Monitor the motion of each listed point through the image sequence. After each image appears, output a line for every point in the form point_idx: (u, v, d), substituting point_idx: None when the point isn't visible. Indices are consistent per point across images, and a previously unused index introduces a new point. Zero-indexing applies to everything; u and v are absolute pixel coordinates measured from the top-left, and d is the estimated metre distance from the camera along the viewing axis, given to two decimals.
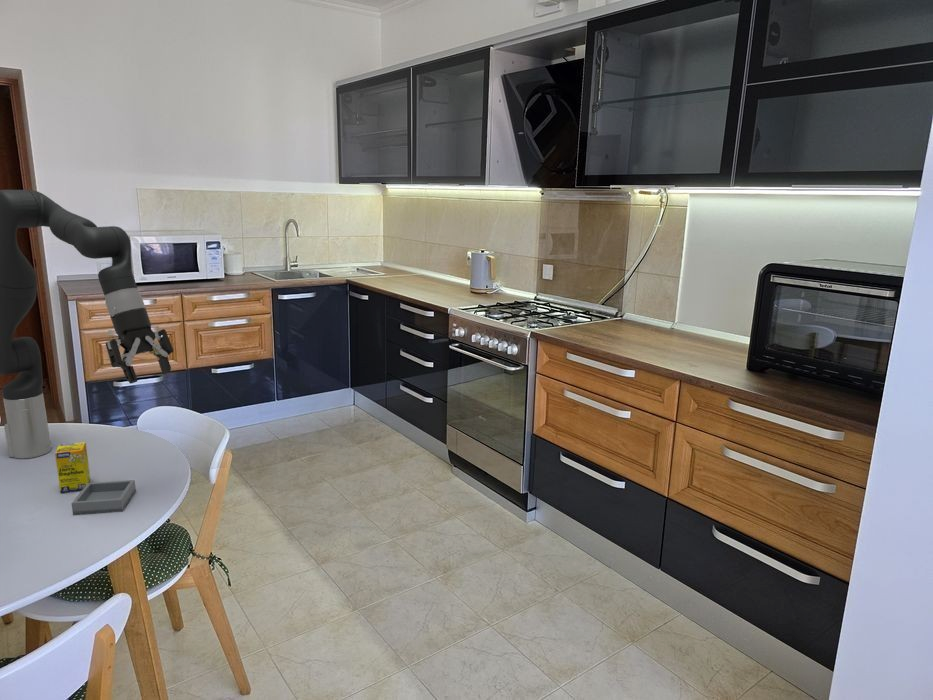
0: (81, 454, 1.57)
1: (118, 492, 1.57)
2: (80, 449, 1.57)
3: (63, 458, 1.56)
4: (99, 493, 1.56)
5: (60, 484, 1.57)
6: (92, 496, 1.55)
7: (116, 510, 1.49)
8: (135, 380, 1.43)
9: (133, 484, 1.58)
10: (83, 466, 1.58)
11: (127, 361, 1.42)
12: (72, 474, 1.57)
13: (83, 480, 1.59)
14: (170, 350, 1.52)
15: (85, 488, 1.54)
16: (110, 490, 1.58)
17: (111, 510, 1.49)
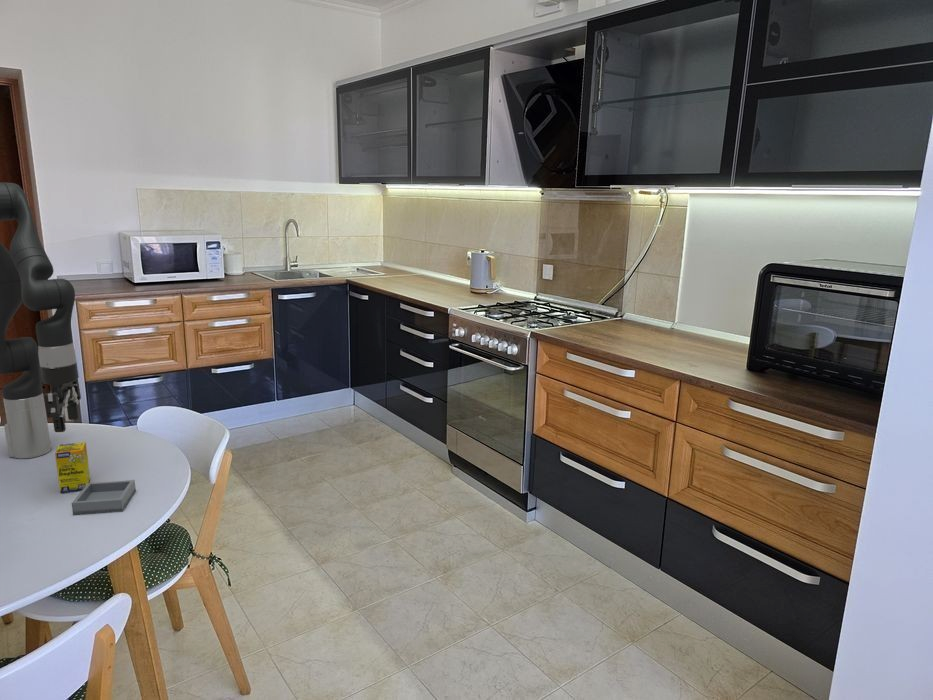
0: (81, 454, 1.57)
1: (118, 492, 1.57)
2: (80, 449, 1.57)
3: (63, 458, 1.56)
4: (99, 493, 1.56)
5: (60, 484, 1.57)
6: (92, 496, 1.55)
7: (116, 510, 1.49)
8: (64, 430, 1.53)
9: (133, 484, 1.58)
10: (83, 466, 1.58)
11: (62, 413, 1.52)
12: (72, 474, 1.57)
13: (83, 480, 1.59)
14: (79, 397, 1.62)
15: (85, 488, 1.54)
16: (110, 490, 1.58)
17: (111, 510, 1.49)
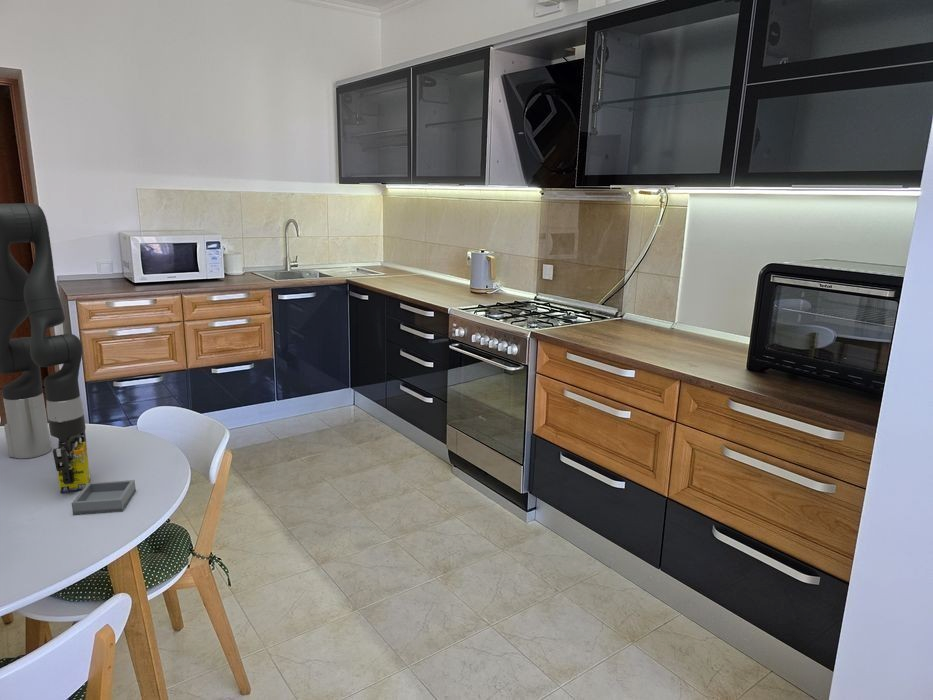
0: (81, 454, 1.57)
1: (118, 492, 1.57)
2: (80, 449, 1.57)
3: None
4: (99, 493, 1.56)
5: (60, 484, 1.57)
6: (92, 496, 1.55)
7: (116, 510, 1.49)
8: (73, 481, 1.57)
9: (133, 484, 1.58)
10: (83, 466, 1.58)
11: (71, 465, 1.56)
12: None
13: (83, 480, 1.59)
14: None
15: (85, 488, 1.54)
16: (110, 490, 1.58)
17: (111, 510, 1.49)
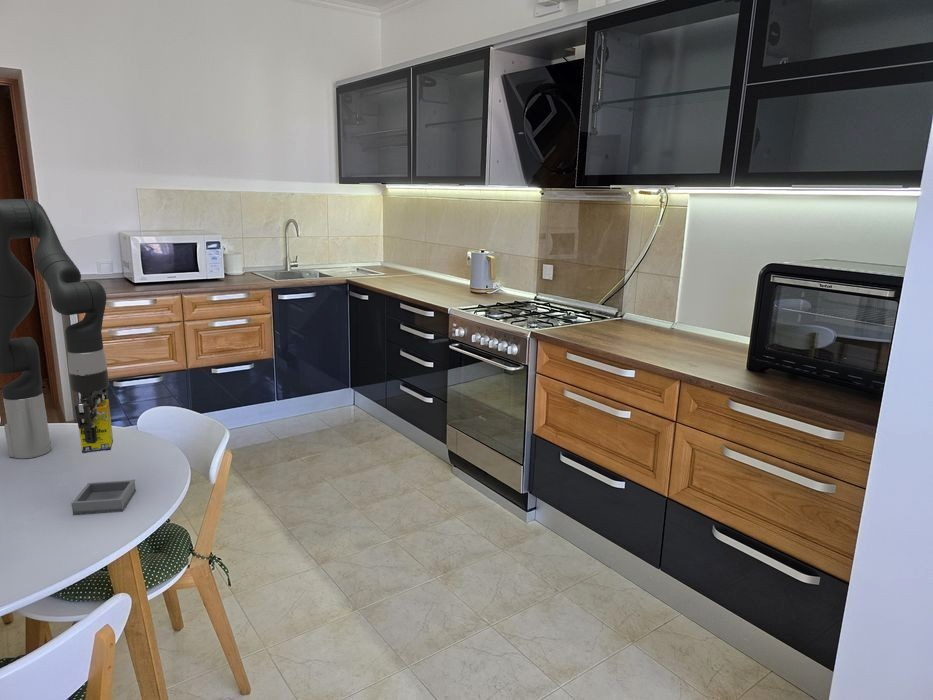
0: (104, 411, 1.46)
1: (118, 492, 1.57)
2: (103, 406, 1.46)
3: None
4: (99, 493, 1.56)
5: (82, 443, 1.46)
6: (92, 496, 1.55)
7: (116, 510, 1.49)
8: None
9: (133, 484, 1.58)
10: (106, 424, 1.47)
11: (94, 423, 1.45)
12: None
13: (106, 440, 1.48)
14: None
15: (85, 488, 1.54)
16: (110, 490, 1.58)
17: (111, 510, 1.49)
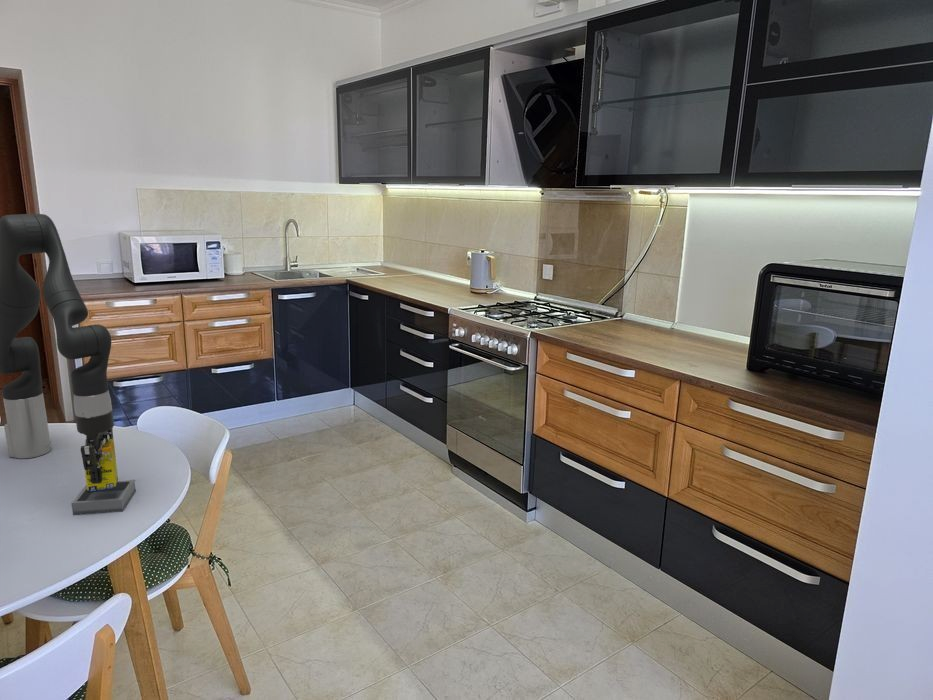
0: (109, 452, 1.49)
1: (118, 492, 1.57)
2: (108, 446, 1.49)
3: None
4: (99, 493, 1.56)
5: (87, 483, 1.48)
6: (92, 496, 1.55)
7: (116, 510, 1.49)
8: (101, 481, 1.49)
9: (133, 484, 1.58)
10: (111, 464, 1.50)
11: (99, 464, 1.47)
12: None
13: (111, 479, 1.50)
14: None
15: (85, 488, 1.54)
16: (110, 490, 1.58)
17: (111, 510, 1.49)
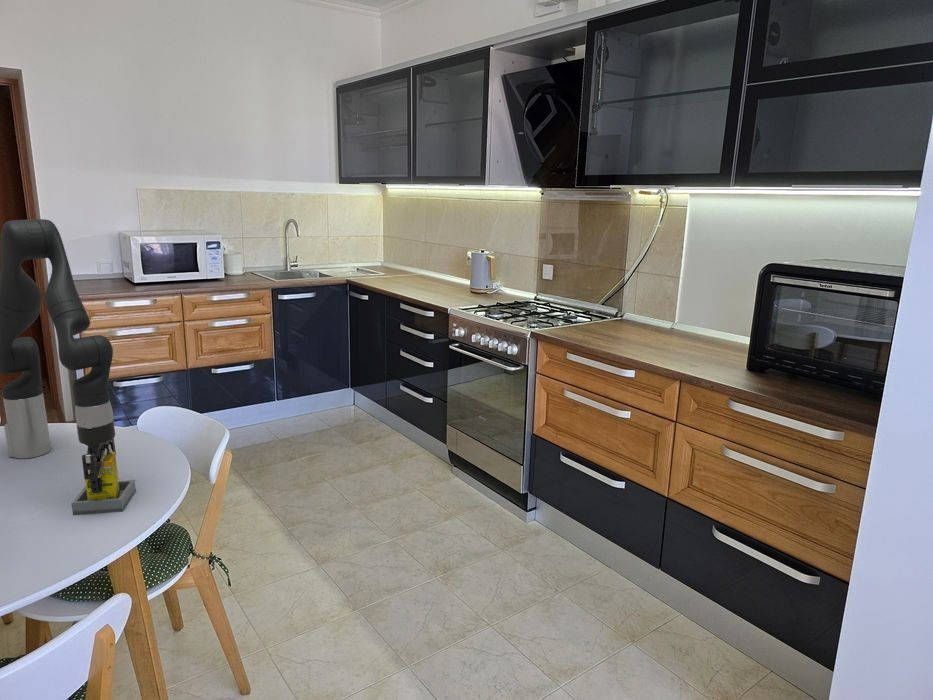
0: (110, 465, 1.49)
1: None
2: (109, 460, 1.49)
3: None
4: None
5: (88, 497, 1.49)
6: None
7: (116, 510, 1.49)
8: (101, 490, 1.49)
9: (133, 484, 1.58)
10: (112, 478, 1.50)
11: (99, 473, 1.47)
12: None
13: (112, 493, 1.51)
14: None
15: (85, 488, 1.54)
16: None
17: (111, 510, 1.49)
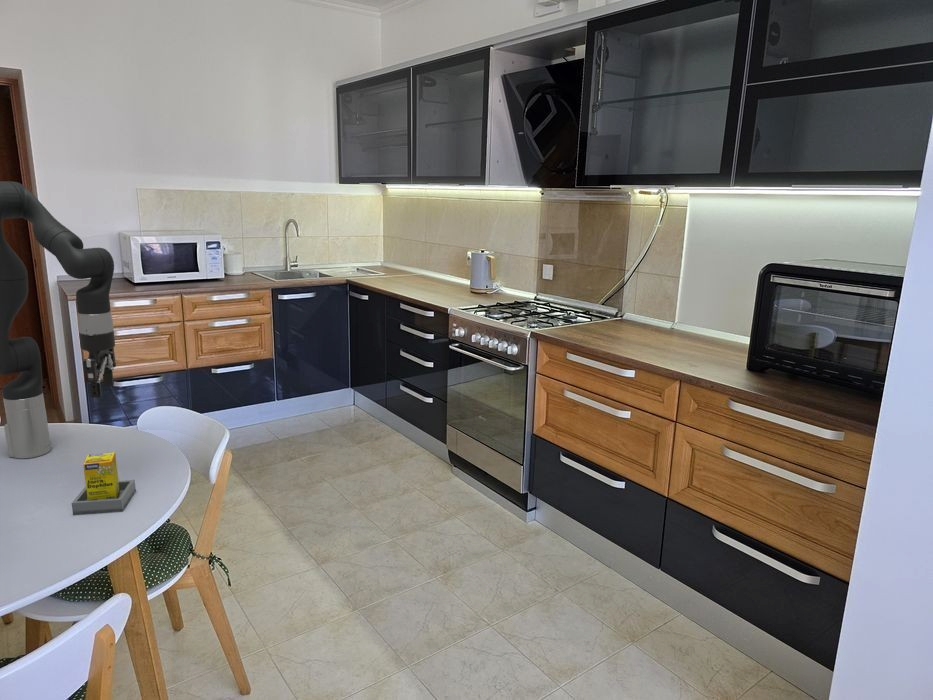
0: (110, 466, 1.49)
1: None
2: (109, 460, 1.49)
3: (91, 469, 1.48)
4: None
5: (88, 497, 1.49)
6: None
7: (116, 510, 1.49)
8: (100, 395, 1.57)
9: (133, 484, 1.58)
10: (112, 478, 1.50)
11: (99, 379, 1.56)
12: (101, 487, 1.50)
13: (112, 493, 1.51)
14: (114, 365, 1.66)
15: (85, 488, 1.54)
16: None
17: (111, 510, 1.49)
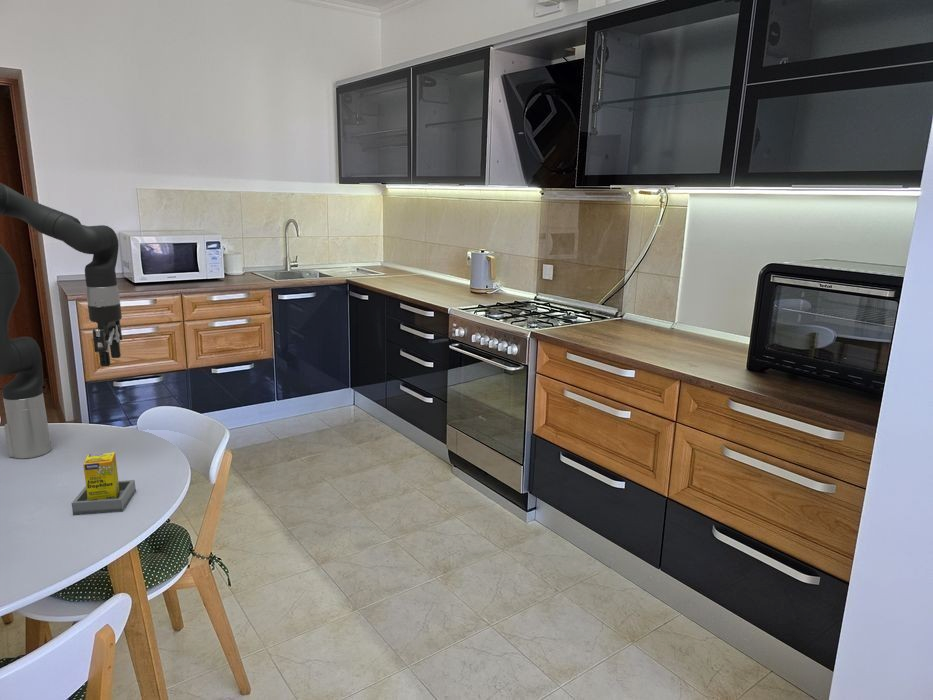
0: (110, 465, 1.49)
1: None
2: (109, 460, 1.49)
3: (91, 469, 1.48)
4: None
5: (88, 497, 1.49)
6: None
7: (116, 510, 1.49)
8: (109, 364, 1.68)
9: (133, 484, 1.58)
10: (112, 478, 1.50)
11: (107, 348, 1.66)
12: (101, 487, 1.50)
13: (112, 493, 1.51)
14: (121, 338, 1.77)
15: (85, 488, 1.54)
16: None
17: (111, 510, 1.49)
